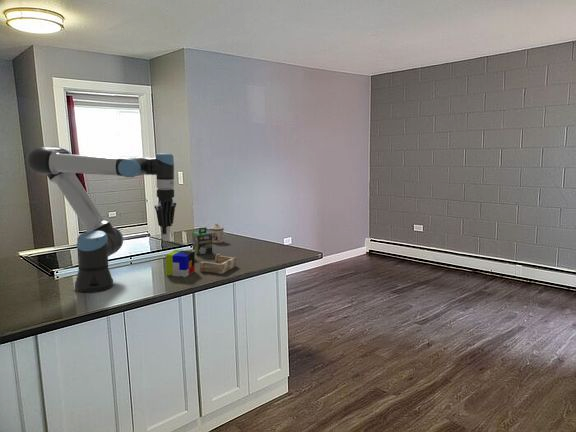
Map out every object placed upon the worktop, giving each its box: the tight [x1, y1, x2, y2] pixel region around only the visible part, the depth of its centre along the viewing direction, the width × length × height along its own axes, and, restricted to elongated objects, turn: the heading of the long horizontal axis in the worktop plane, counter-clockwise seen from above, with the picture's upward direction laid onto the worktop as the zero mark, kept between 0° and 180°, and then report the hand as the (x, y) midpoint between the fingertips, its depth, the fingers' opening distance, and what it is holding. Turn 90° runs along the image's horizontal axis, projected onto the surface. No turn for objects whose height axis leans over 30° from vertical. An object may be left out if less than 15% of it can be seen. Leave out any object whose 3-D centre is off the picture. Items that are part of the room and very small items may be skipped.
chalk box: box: [191, 226, 213, 255], centre depth 247 cm, size 9×9×15 cm
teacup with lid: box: [209, 223, 227, 244], centre depth 274 cm, size 12×9×12 cm
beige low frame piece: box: [191, 249, 237, 275], centre depth 220 cm, size 18×27×5 cm
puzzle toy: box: [165, 249, 196, 278], centre depth 208 cm, size 10×10×10 cm
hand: (166, 240), depth 195 cm, fingers closed
